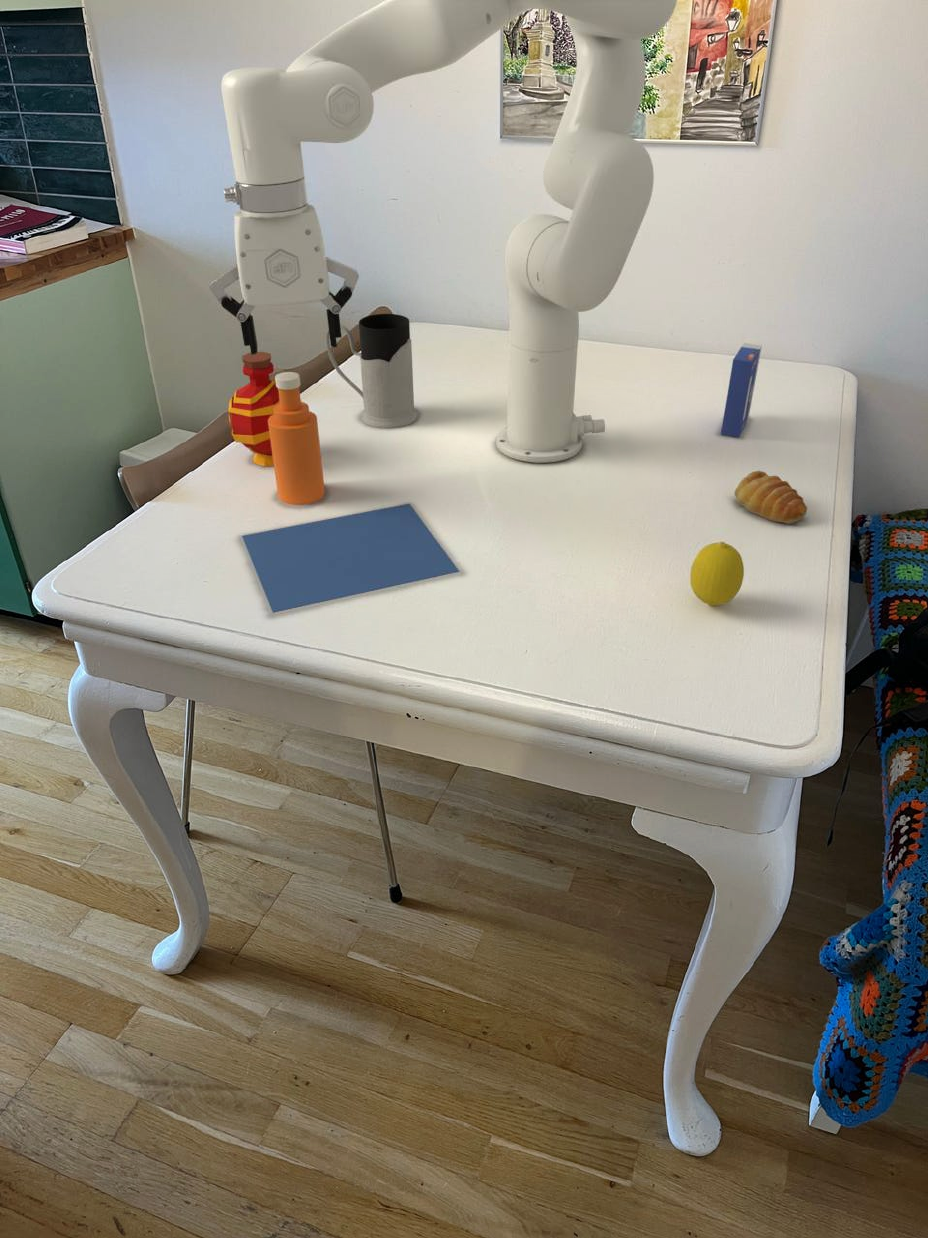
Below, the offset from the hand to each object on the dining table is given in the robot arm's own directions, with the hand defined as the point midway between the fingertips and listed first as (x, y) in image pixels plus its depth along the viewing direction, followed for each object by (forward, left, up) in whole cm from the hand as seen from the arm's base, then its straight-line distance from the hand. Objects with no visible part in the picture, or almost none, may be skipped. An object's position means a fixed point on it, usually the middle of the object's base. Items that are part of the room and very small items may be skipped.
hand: (294, 347), depth 113 cm
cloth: (-4, +17, -20) cm, 27 cm away
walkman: (-65, -10, -20) cm, 69 cm away
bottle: (+1, +1, -20) cm, 20 cm away
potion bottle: (+5, -12, -20) cm, 24 cm away
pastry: (-59, +15, -20) cm, 64 cm away
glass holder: (-11, -25, -20) cm, 34 cm away
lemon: (-43, +35, -20) cm, 59 cm away
